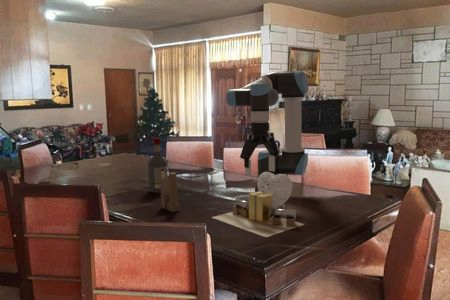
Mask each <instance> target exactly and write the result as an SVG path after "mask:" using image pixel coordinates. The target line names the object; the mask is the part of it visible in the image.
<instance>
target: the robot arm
mask: <svg viewBox="0 0 450 300" xmlns="http://www.w3.org/2000/svg"><path fill="white" fill-rule="evenodd" d="M308 92H309V82H308V77H307V75H306V72H304V71H303V70H285V71H284V70H281V71H280V70H279V71H277V70H276V71H272V72H268V73H265V74H263V75H261V76H259V77H257V78H256V79H255V81H253V82H250V83H249V84H246V85H244V86H242V87H240V88H233V89H229V90H228V91H227V92H226V97H225V98H226V99H225V100H226V104H227V105H228V106H229V107H250V121H251V122H250V131H251V134H245V141H244V143H243V146H242V150H241V153H240V156H239V158H240V159H242V160H243V162H244V164H243V166H244V171H245V176H248V177H251V176H252V159H251V157H252V155H253V154H254V152H255V150H256V148H257V147H259V146H261V145H264V147H265V148H266V150H262V151H259V152H258V153H257V159H256V160H257V180H256V183H255V186H254V193H255V192H259V191H258V187H257V181H258V177H259V176H260V175H261V174H262V173H263V172H270V173H273V174H274V175H278V174H285V175H287V176H288V175H290V176H302V175H304V174H305V173H306V171H307V169H308V168H307V167H308V163H309V154H308V153H306V152H305V148H303V146H302V143H303V142H302V101H303V100H304V99H305V95H306V94H308ZM280 96H281V99H282V100H283V101H284V147H283V148H282V150H281V152H280V149H279V147H278V145H277V142H276V140H275V134H274V132H270V122H269V121H270V107H272V106H274V105H277V103H278V102H279V98H280ZM263 176H264V175H263ZM269 176H270V175H269ZM269 176H267V177H269ZM267 177H266V178H267ZM264 178H265V177H264ZM264 178H263V179H264ZM270 179H271V178H270ZM273 180H274V179H273ZM279 181H280V180H279ZM266 182H267V181H266ZM270 182H271V181H270ZM273 182H274V181H273ZM264 183H265V182H264ZM277 183H278V182H277ZM269 184H270V183H269ZM269 184H268V183H267V185H269ZM275 184H276V183H275ZM275 184H274V185H275ZM272 185H273V184H272ZM273 187H274V186H273ZM276 187H277V186H276ZM279 187H280V186H279ZM263 188H264V186H263ZM269 188H270V187H269ZM260 190H261V189H260ZM263 192H264V191H263ZM275 195H276V194H275Z"/></svg>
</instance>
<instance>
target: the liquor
mask: <svg viewBox="0 0 450 300" xmlns="http://www.w3.org/2000/svg"><path fill="white" fill-rule="evenodd" d="M152 141H153V155H152V157H151V159H149V161H148V163H147V165H148V166H147V168H148V190H149V192H150V193H153V192H154V193H153V194H161V186H160V179H163V178H167V180H168V181H169V173H168V161H167V160H166V158H165V157H163V156H162V153H161V138H160V137H153V140H152Z"/></svg>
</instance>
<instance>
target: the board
mask: <svg viewBox="0 0 450 300" xmlns="http://www.w3.org/2000/svg"><path fill="white" fill-rule="evenodd" d="M210 219H214V220H217V221H220V222H223V223H226V224H228V225H230V226H233V227H236V228H239V229H241V230H244V231H247V232H250V233H253V234H256V235H258V236H261V237H265V238H269V237H272V236H275V235H278V234H280V233H283V232H286V231H290V230H293V229H296V228H298V227H301V226H304V225H305V223H302V222H297V221H295V225H294V227H288V226H286V217H282V222H281V225H280V226H273V221H270V222H266V223H263V224H262V223H259V222H256V221H253V220H250V219H249V217H248V218H245V217H242V214H239V215H236V214H233V211H230V212H226V213H223V214H218V215H215V216H211V218H210Z"/></svg>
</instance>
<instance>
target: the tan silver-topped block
mask: <svg viewBox="0 0 450 300" xmlns="http://www.w3.org/2000/svg"><path fill="white" fill-rule="evenodd" d="M233 203H234V206H232V212H233V214H236V215H239V214H242V217H245V218H248V217H249V201H246V200H243V199H239V198H235V200H234V202H233Z"/></svg>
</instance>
